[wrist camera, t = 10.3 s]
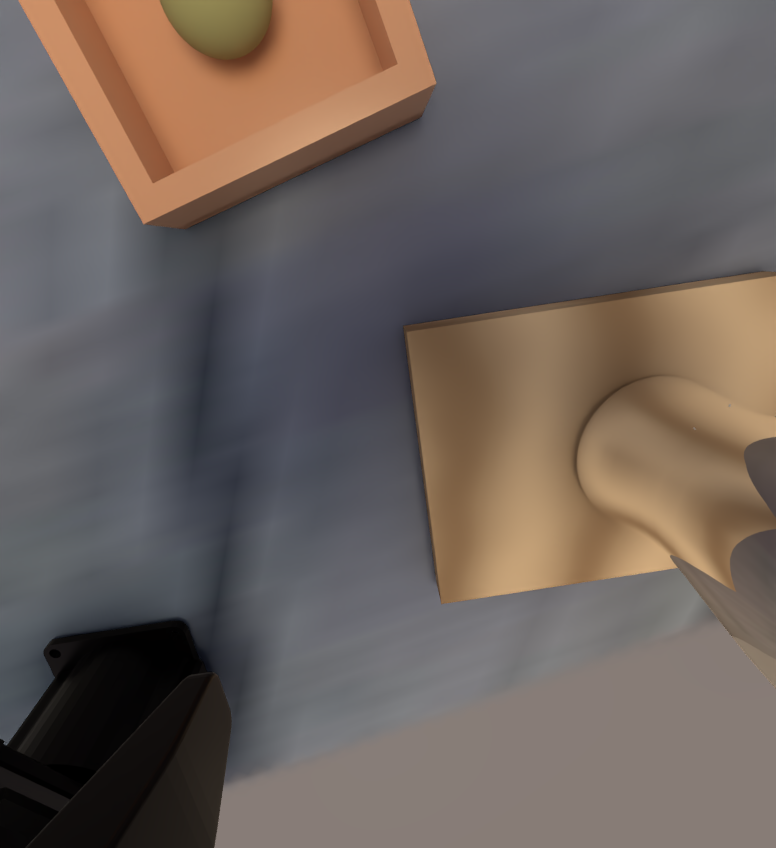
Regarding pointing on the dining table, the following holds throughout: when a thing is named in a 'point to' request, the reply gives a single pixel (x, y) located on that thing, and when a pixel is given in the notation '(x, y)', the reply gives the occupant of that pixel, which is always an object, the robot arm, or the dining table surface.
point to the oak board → (563, 421)
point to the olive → (220, 24)
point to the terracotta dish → (233, 95)
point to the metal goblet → (694, 495)
